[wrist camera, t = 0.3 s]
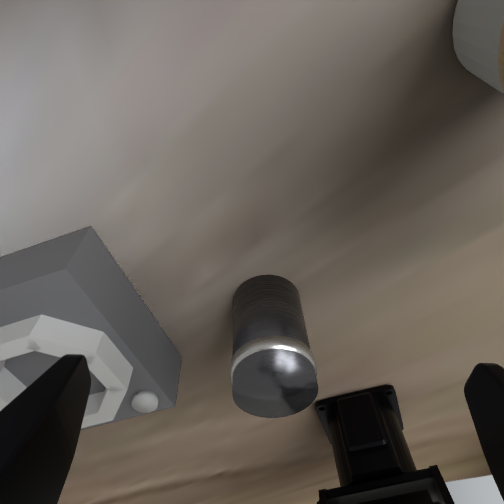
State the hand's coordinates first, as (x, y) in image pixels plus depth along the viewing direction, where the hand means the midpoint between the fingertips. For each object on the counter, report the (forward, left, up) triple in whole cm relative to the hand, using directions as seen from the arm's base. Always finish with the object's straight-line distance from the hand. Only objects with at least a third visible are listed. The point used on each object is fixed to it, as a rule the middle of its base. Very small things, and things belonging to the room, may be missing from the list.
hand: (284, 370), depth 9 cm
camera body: (-7, +15, -13) cm, 21 cm away
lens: (-10, +3, -13) cm, 17 cm away
